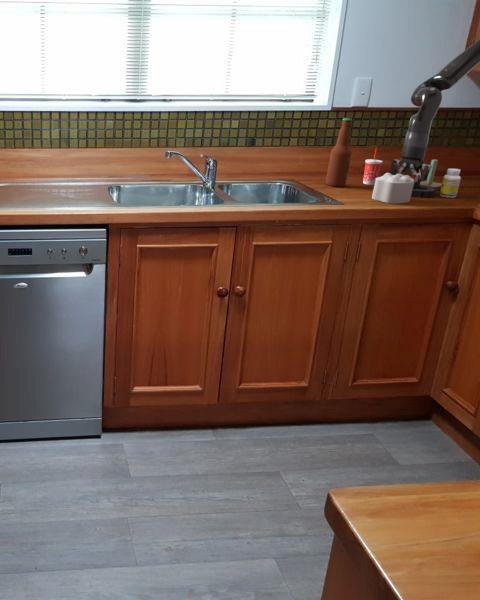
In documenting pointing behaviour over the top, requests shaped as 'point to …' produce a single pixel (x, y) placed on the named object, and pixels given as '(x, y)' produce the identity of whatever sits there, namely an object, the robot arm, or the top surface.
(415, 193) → the ring
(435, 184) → the stand
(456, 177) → the supplement bottle
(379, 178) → the white bumpy block
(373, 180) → the beverage cup
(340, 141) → the bottle
